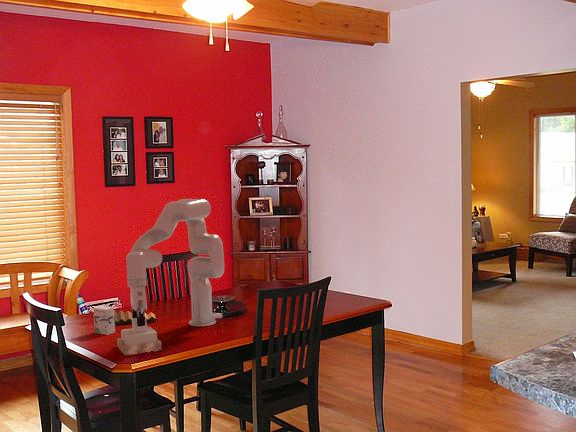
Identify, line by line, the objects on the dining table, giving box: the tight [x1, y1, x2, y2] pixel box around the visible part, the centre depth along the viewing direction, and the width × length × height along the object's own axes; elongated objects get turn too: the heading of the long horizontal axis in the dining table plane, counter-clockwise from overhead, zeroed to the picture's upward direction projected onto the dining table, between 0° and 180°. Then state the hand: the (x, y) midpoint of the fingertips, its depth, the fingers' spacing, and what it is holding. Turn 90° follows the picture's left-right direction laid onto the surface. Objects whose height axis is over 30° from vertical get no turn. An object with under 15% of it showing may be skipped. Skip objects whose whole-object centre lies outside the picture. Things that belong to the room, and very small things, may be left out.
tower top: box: [120, 325, 158, 346], centre depth 285 cm, size 12×12×4 cm
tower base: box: [117, 338, 162, 356], centre depth 286 cm, size 15×15×4 cm
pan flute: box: [114, 310, 157, 327], centre depth 340 cm, size 25×3×25 cm
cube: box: [131, 318, 148, 333], centre depth 285 cm, size 5×5×5 cm
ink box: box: [93, 305, 116, 336], centre depth 313 cm, size 9×5×12 cm, turn 60°
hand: (138, 323), depth 285 cm, fingers open, 9 cm apart
